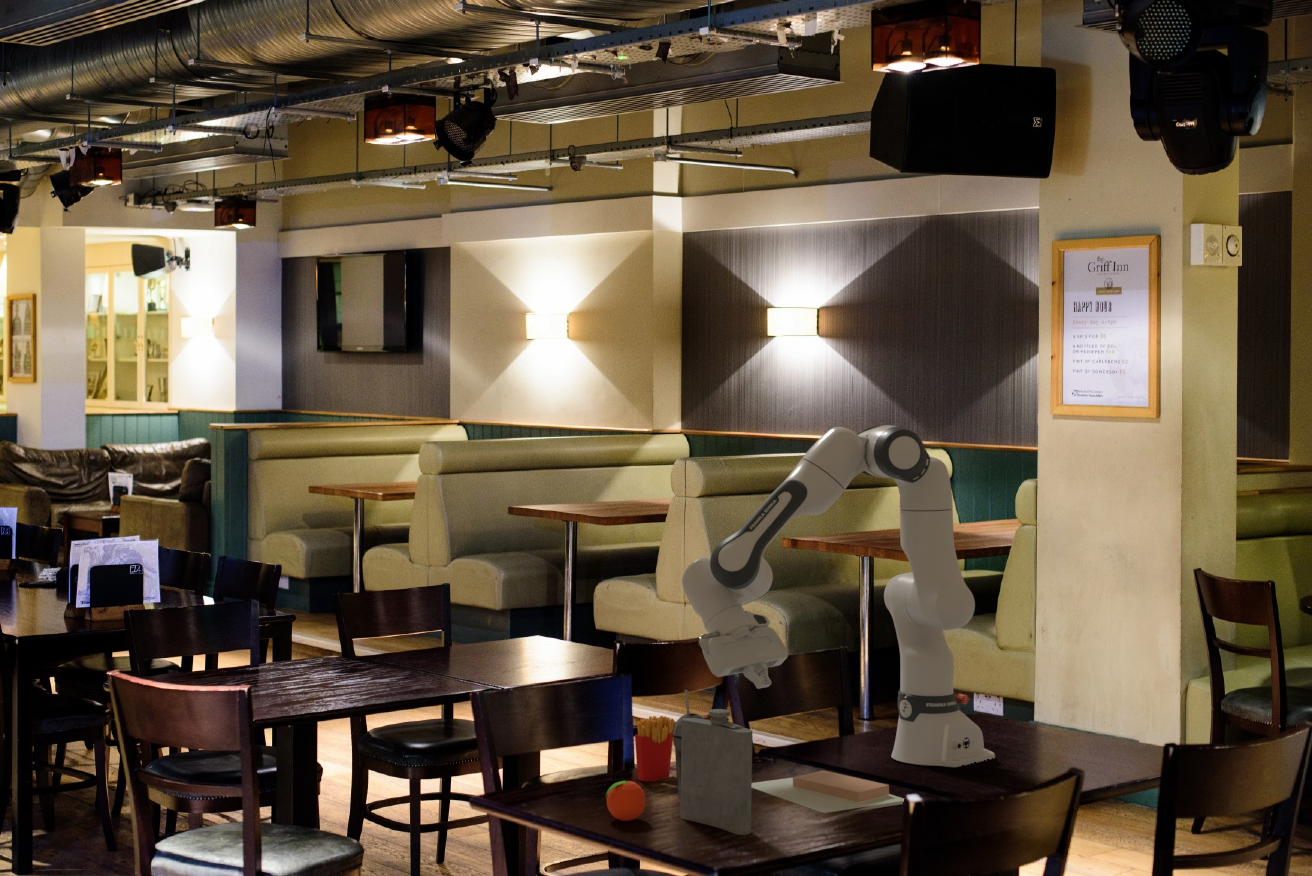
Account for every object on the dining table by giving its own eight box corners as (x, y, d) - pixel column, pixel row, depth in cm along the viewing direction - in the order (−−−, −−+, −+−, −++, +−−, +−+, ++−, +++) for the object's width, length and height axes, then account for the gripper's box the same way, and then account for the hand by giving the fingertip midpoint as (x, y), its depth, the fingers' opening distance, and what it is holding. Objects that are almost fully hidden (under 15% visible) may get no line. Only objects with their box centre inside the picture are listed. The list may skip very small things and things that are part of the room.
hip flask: (676, 817, 272) (678, 704, 272) (693, 813, 275) (694, 702, 275) (741, 835, 261) (743, 718, 261) (758, 831, 264) (760, 715, 264)
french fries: (642, 782, 298) (643, 721, 298) (631, 778, 302) (632, 717, 302) (677, 777, 303) (678, 716, 303) (665, 773, 307) (666, 713, 306)
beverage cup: (706, 802, 284) (708, 694, 283) (667, 799, 285) (669, 692, 285) (712, 793, 291) (714, 687, 291) (675, 790, 292) (676, 686, 292)
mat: (824, 776, 307) (824, 773, 307) (908, 803, 285) (908, 799, 285) (742, 787, 296) (742, 784, 296) (823, 816, 275) (823, 812, 275)
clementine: (615, 828, 264) (616, 786, 264) (593, 819, 270) (594, 779, 270) (653, 821, 269) (654, 781, 269) (630, 813, 275) (631, 773, 275)
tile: (792, 777, 294) (859, 792, 282) (823, 770, 300) (889, 784, 289) (792, 787, 294) (858, 803, 282) (823, 780, 300) (888, 795, 289)
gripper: (703, 626, 304) (738, 684, 298) (772, 615, 318) (806, 670, 312) (687, 644, 307) (720, 702, 301) (755, 633, 322) (789, 688, 315)
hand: (765, 686), depth 307 cm, fingers closed
